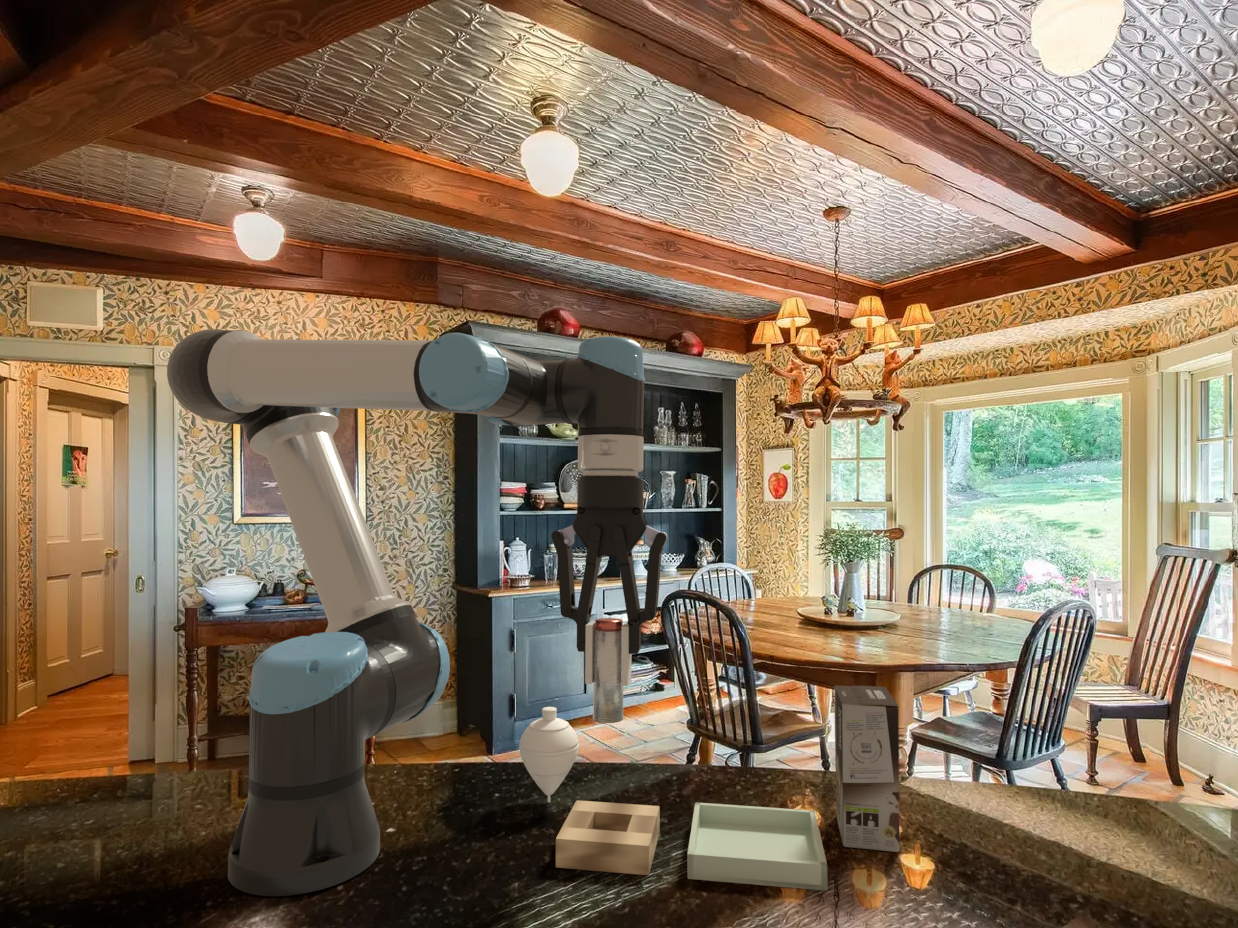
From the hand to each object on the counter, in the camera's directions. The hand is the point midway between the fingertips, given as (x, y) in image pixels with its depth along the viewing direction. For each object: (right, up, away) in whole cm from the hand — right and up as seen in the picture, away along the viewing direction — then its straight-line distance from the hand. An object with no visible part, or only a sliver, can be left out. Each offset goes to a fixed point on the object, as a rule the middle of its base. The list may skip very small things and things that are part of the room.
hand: (608, 681), depth 83 cm
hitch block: (0, -18, -1) cm, 19 cm away
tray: (+16, -18, -2) cm, 25 cm away
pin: (0, -4, 0) cm, 4 cm away
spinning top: (-8, -19, +12) cm, 24 cm away
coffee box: (+30, -19, +3) cm, 36 cm away
